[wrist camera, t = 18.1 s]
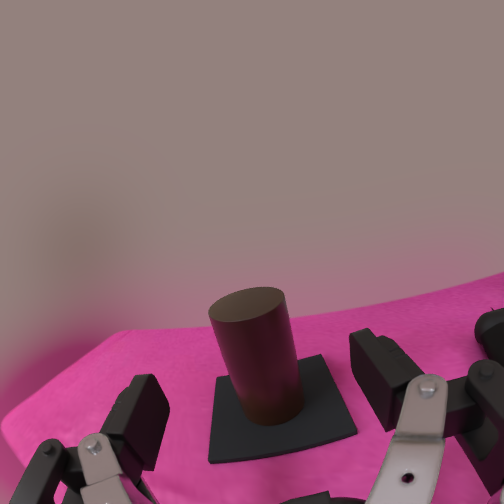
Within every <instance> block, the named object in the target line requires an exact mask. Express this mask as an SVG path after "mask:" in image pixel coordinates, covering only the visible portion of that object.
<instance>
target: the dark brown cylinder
mask: <svg viewBox="0 0 504 504" xmlns="http://www.w3.org/2000/svg"><path fill="white" fill-rule="evenodd" d="M208 314H209V317H210V321H211V324H212V327H213V330H214V333H215V336H216V339H217V342H218V344H219V347H220V350H221V353H222V356H223V359H224V362H225V364H226V367H227V370H228V373H229V375H230V378H231V381H232V384H233V386H234V389H235V392H236V394H237V397H238V399H239V402H240V405H241V407H242V410H243V412H244V415H245V416H246V418H247V419H248V420H250V421H251V422H253V423H255V424H258V425H262V426H275V425H279V424H283V423H286V422H288V421H290V420H291V419H293V418H294V417H296V416H297V415H298V414H299V413H300V411H301V410H302V408H303V406H304V403H305V398H304V392H303V387H302V381H301V376H300V371H299V366H298V360H297V355H296V350H295V345H294V340H293V335H292V330H291V325H290V320H289V315H288V310H287V306H286V301H285V296H284V293H283V292H282V291H281V290H279V289H277V288H273V287H256V288H249V289H244V290H241V291H237V292H234V293H231V294H229V295H227V296H225V297H223V298H221V299H219V300H218V301H216V302H215V303H214V304H213V305H212V306H211V307H210V309H209V312H208Z"/></svg>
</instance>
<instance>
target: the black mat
mask: <svg viewBox="0 0 504 504" xmlns="http://www.w3.org/2000/svg"><path fill="white" fill-rule="evenodd" d="M298 366H299V371H300V376H301V381H302V387H303V392H304V398H305V403H304V406H303V408H302V410H301V411H300V413H299V414H298V415H297V416H296V417H294V418H293V419H291V420H290V421H288V422H286V423H283V424H279V425H275V426H262V425H258V424H255V423H253V422H251V421H250V420H248V419H247V418H246V416H245V415H244V412H243V410H242V407H241V405H240V402H239V399H238V397H237V394H236V392H235V389H234V386H233V384H232V381H231V378H230V375H227V376H221V377H217V378H216V387H215V396H214V405H213V415H212V425H211V435H210V445H209V455H208V461H209V463H210V464H214V463H227V462H236V461H245V460H252V459H259V458H265V457H271V456H277V455H282V454H287V453H291V452H296V451H300V450H305V449H309V448H313V447H316V446H320V445H324V444H327V443H331V442H334V441H337V440H340V439H343V438H347V437H350V436H352V435H355V434H357V428H356V426H355V424H354V422H353V420H352V418H351V415H350V413H349V411H348V409H347V407H346V405H345V403H344V401H343V398H342V396H341V394H340V392H339V390H338V388H337V386H336V384H335V382H334V380H333V377H332V375H331V373H330V371H329V369H328V367H327V365H326V363H325V361H324V359H323V357H322V355H321V354H319V355H315V356H312V357H308V358H304V359H301V360H298Z"/></svg>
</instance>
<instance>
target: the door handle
mask: <svg viewBox="0 0 504 504" xmlns="http://www.w3.org/2000/svg"><path fill="white" fill-rule="evenodd" d="M492 310H493V309H492ZM474 333H475V338H476V340H477V341H478V343H479V344H481V345H482V346H483V348H484V350H485V352H486V354H487V356H488V358H489V360H493V361H496V362H497V363H499V364H500V365H501V366H502V367H503V368H504V308H501V309H498V310H493V311H490V312H487V313H484V314H483V315H481V316H480V317H479V319H478V320H477V322H476V325H475V329H474Z"/></svg>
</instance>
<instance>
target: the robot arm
mask: <svg viewBox="0 0 504 504" xmlns="http://www.w3.org/2000/svg"><path fill="white" fill-rule="evenodd" d="M349 343H350V358H351V368H352V372H353V375H354V377H355V379H356V381H357V383H358V384H359V386H360V388H361V389H362V391H363V393H364V395H365V396H366V398H367V400H368V402H369V403H370V405H371V407H372V409H373V410H374V412H375V414H376V416H377V417H378V419H379V421H380V423H381V425H382V426H383V428H384V430H385V432H388V431H391V430H393V429H396V431H395V434H394V435H393V437H392V439H391V442H390V445H389V448H388V450H387V453H386V456H385V459H384V461H383V464H382V466H381V469H380V471H379V474H378V476H377V478H376V481H375V483H374V485H373V487H372V490H371V492H370V494H369V496H368V498H367V500H362V499H357V498H348V497H336V498H330V494H329V491H325V492H321V493H317V494H313V495H309V496H304V497H300V498H295V499H290V500H288V501H285V502H283V503H280V504H431V501H432V497H433V494H434V491H435V487H436V483H437V479H438V475H439V471H440V467H441V462H442V458H443V452H444V447H445V438H447V437H451V436H454V437H455V438H456V440H457V441H458V443H459V444H460V446H461V447H462V449H463V451H464V452H465V454H466V455H467V457H468V459H469V460H470V462H471V464H472V465H473V467H474V468H475V470H476V472H477V474H478V475H479V477H480V479H481V480H482V482H483V484H484V486H485V487H486V489H487V491H488V493H489V495H490V496H491V498H490V499H489V501H488V503H487V504H504V368H503V367H502V366H501V365H500V364H499V363H497V362H496V361H493V360H489V359H483V360H479V361H477V362H475V363H473V364H472V365H471V367H470V368H469V371H468V375H467V376H464V377H461V378H457V379H453V380H449V381H445V379H443V378H442V377H440V376H438V375H435V374H425V373H424V372H423V371H422V370H421V369H420V368H419V367H418V366H417V365H416V364H415V362H414V361H413V360H412V359H411V358H410V357H409V356H408V355H407V354H405V352H404V351H403V350H402V349H401V348H400V347H399V346H398V344H397V343H396V342H395V341H394V340H392V339H390V338H388V337H385V336H383V335H382V336H379V337H376V336H375V335H374V334H373V333H372V331H371V330H370V329H369V328H365V329H362V330H359V331H356V332H353V333H350V335H349ZM169 413H170V407H169V402H168V400H167V398H166V396H165V394H164V392H163V391H162V389H161V387H160V385H159V383H158V381H157V379H156V377H155V376H154V375H153V374H143V375H135V376H134V378H133V380H132V381H131V383H130V385H129V387H126V388H125V389H124V390H123V391H122V392H121V393H120V394H119V396H118V397H117V399H116V401H115V404H114V405H113V407H112V411H110V413H109V414H108V416H107V418H106V420H105V422H104V424H103V426H102V428H101V430H100V432H99V433H93V434H90V435H88V436H86V437H84V438H83V439H82V440H81V441H80V443H79V445H78V446H77V447H69V448H65V447H64V446H63V444H62V443H61V442H60V441H59V440H57V439H48V440H46V441H44V442H42V443H41V444H40V445H39V447H38V448H37V450H36V452H35V454H34V456H33V457H32V459H31V461H30V463H29V465H28V466H27V468H26V470H25V472H24V474H23V476H22V478H21V480H20V482H19V484H18V486H17V488H16V490H15V492H14V494H13V496H12V498H11V500H10V503H9V504H55V502H54V498H53V497H54V494H55V491H56V489H57V486H58V484H59V482H60V480H61V481H62V482H63V483H64V484H65V485H66V486H67V487H68V488H67V491H66V493H65V496H64V499H63V501H62V504H159V502H158V501H157V499H156V498H155V496H154V494H153V493H152V491H151V490H150V488H149V486H148V485H147V483H146V481H145V479H144V478H143V477H142V476H141V474H142V470H145V471H154V468H155V464H156V461H157V457H158V453H159V449H160V446H161V442H162V438H163V435H164V431H165V428H166V424H167V421H168V417H169Z"/></svg>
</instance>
